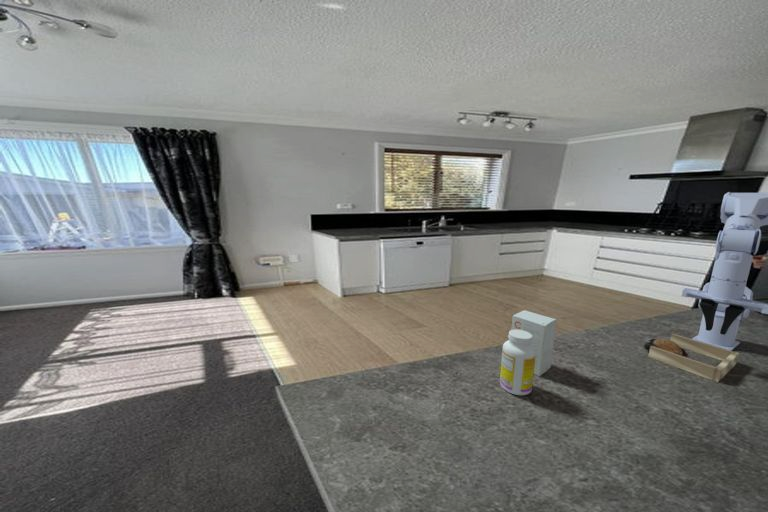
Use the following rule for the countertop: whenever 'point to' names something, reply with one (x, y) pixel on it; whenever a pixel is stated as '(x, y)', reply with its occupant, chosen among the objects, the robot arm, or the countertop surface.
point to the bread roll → (665, 346)
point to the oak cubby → (693, 365)
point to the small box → (538, 337)
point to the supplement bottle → (518, 363)
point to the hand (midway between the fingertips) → (715, 331)
